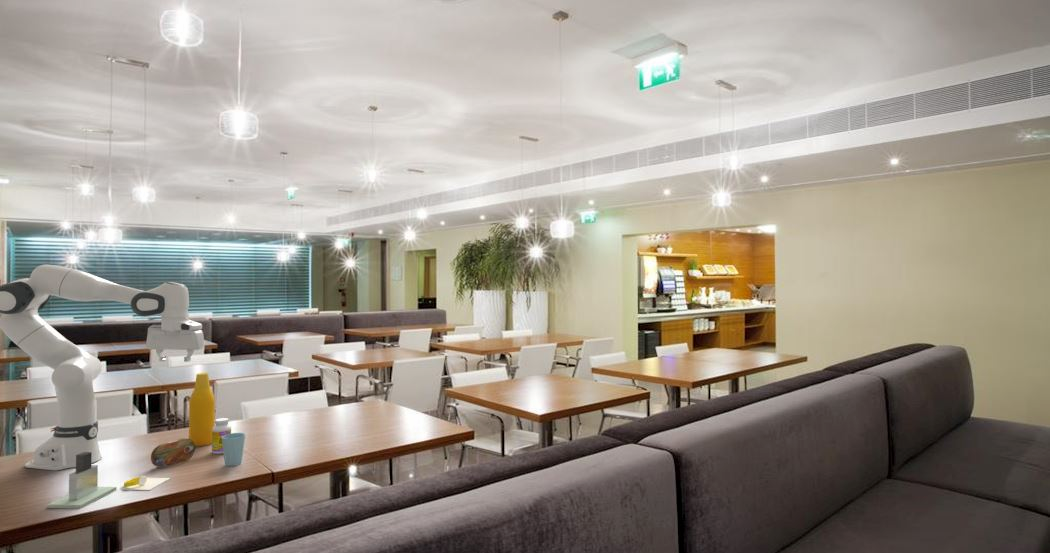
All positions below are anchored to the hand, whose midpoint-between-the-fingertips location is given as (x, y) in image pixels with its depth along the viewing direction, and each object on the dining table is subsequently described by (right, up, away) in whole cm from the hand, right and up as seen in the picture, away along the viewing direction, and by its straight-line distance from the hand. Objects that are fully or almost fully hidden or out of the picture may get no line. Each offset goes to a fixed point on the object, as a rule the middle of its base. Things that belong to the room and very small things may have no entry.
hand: (174, 361), depth 207 cm
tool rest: (-5, -37, -37) cm, 52 cm away
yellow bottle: (-1, -37, +19) cm, 42 cm away
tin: (+3, -38, -5) cm, 38 cm away
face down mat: (+7, -37, -25) cm, 45 cm away
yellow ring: (+1, -37, -25) cm, 44 cm away
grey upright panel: (-5, -36, -37) cm, 52 cm away
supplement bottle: (+13, -38, +9) cm, 40 cm away
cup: (+25, -38, -4) cm, 45 cm away
